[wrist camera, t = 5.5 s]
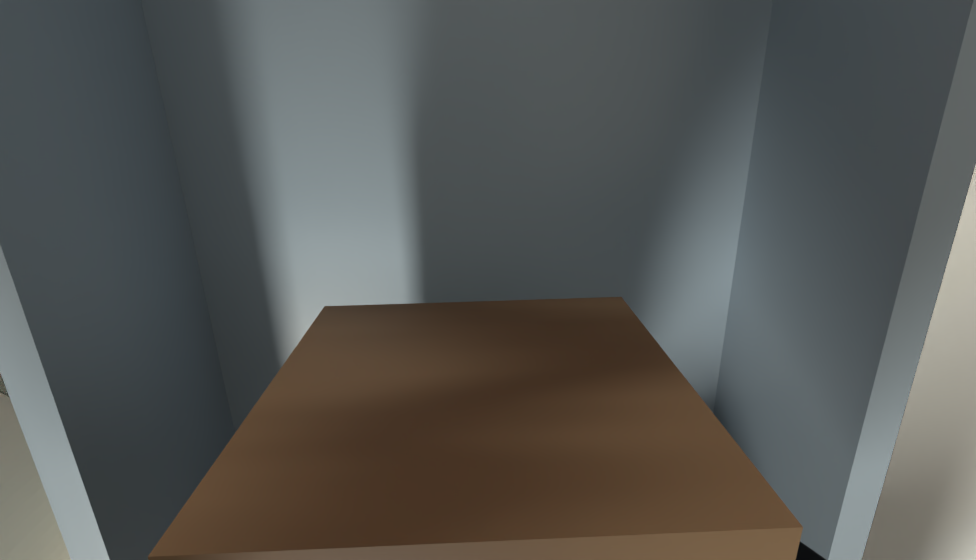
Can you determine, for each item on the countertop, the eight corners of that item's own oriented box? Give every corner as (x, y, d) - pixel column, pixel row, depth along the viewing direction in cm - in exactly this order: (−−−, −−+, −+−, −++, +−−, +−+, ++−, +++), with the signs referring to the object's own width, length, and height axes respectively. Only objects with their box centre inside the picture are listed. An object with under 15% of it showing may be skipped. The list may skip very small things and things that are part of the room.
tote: (712, 481, 14) (831, 666, 10) (240, 502, 14) (125, 704, 9) (836, -332, 9) (1261, -832, 4) (51, -333, 8) (-477, -885, 4)
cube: (621, 297, 9) (803, 526, 4) (604, 528, 10) (720, 885, 6) (324, 306, 9) (147, 556, 4) (355, 539, 10) (259, 914, 5)
